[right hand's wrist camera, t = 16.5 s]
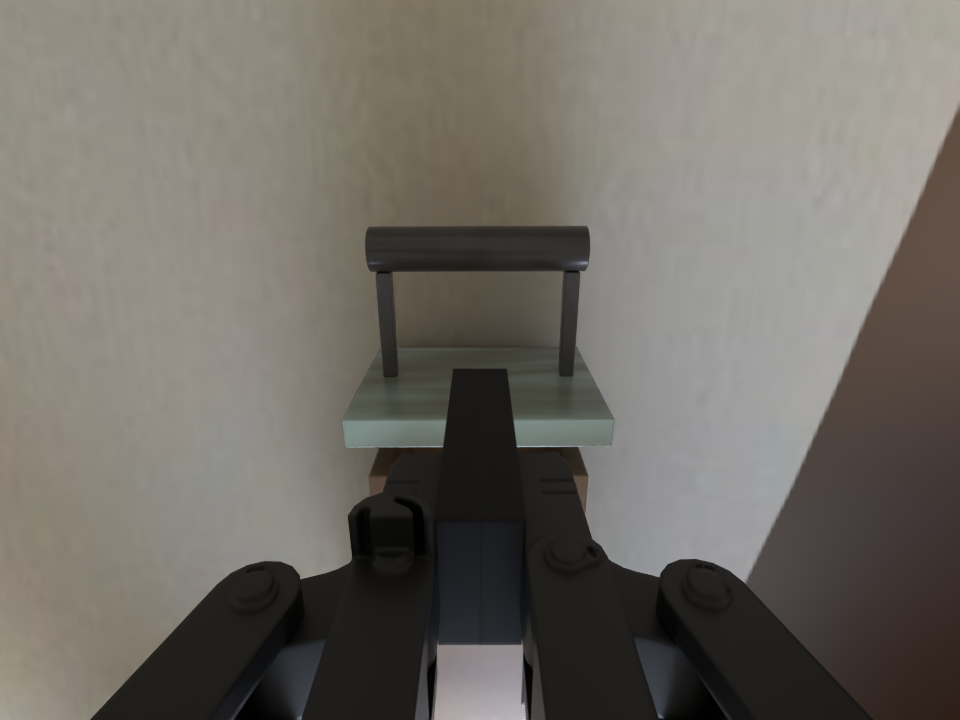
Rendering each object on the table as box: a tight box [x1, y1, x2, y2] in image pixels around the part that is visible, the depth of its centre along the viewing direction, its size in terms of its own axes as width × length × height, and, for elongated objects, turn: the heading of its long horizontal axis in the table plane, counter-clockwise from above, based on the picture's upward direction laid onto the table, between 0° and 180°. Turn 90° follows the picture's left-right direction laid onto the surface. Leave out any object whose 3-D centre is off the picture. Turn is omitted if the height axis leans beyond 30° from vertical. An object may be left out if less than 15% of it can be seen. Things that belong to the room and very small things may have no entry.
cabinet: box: [434, 642, 526, 720], centre depth 29 cm, size 17×11×10 cm, turn 0°
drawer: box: [342, 226, 614, 514], centre depth 24 cm, size 22×10×8 cm, turn 0°
